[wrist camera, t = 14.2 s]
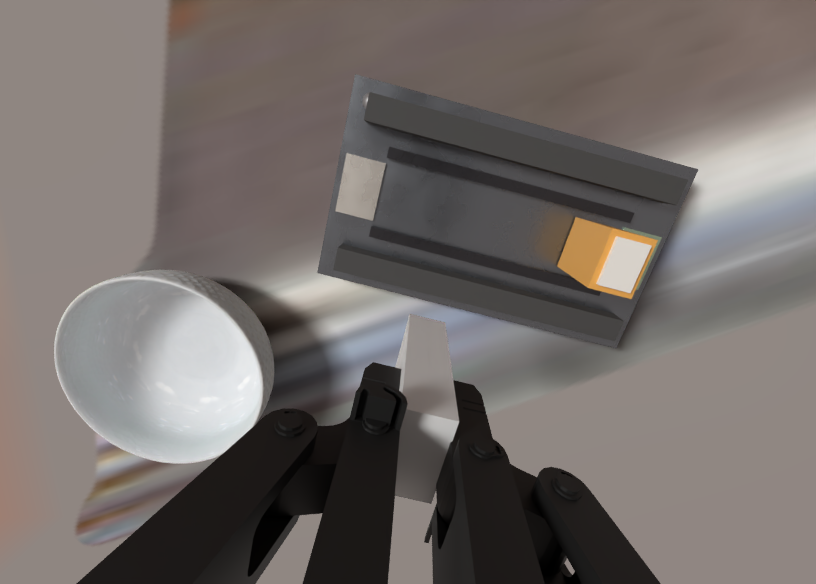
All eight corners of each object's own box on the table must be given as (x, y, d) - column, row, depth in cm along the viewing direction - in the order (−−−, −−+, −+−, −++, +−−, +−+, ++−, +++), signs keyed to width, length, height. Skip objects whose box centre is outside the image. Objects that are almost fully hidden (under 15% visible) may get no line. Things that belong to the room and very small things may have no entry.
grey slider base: (361, 83, 30) (353, 72, 27) (673, 169, 32) (704, 169, 28) (325, 264, 35) (315, 274, 31) (600, 334, 36) (619, 351, 33)
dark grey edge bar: (342, 243, 31) (337, 247, 30) (613, 313, 32) (624, 321, 31) (337, 264, 32) (333, 270, 30) (604, 332, 33) (614, 341, 31)
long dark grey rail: (372, 96, 28) (369, 91, 26) (672, 179, 29) (688, 179, 27) (367, 122, 29) (363, 119, 27) (662, 203, 30) (676, 205, 28)
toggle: (575, 217, 30) (614, 228, 24) (612, 226, 30) (660, 241, 24) (556, 266, 31) (589, 289, 25) (592, 275, 31) (633, 300, 25)
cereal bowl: (305, 282, 36) (278, 309, 29) (278, 431, 40) (249, 484, 34) (118, 235, 35) (46, 251, 28) (114, 393, 40) (51, 439, 33)
